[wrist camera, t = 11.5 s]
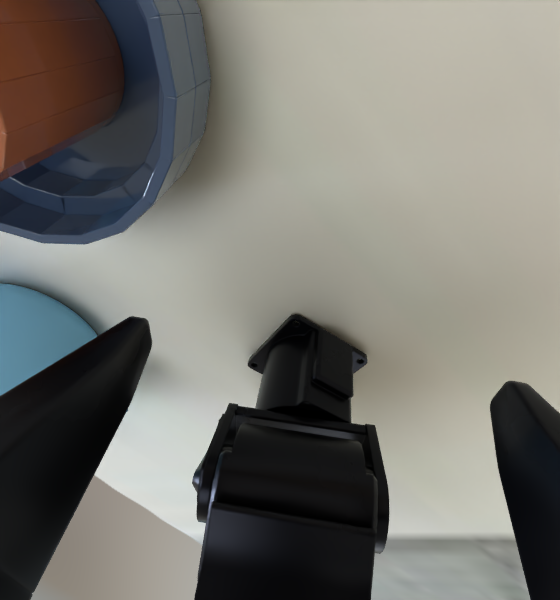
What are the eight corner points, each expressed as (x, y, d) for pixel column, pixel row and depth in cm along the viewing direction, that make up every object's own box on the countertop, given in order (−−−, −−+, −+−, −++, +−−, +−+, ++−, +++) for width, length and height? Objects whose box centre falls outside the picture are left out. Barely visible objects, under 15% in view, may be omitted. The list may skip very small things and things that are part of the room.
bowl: (152, 244, 22) (114, 292, 18) (-98, 99, 19) (-207, 123, 15) (273, -8, 14) (248, -11, 10) (-136, -355, 10) (-400, -553, 7)
